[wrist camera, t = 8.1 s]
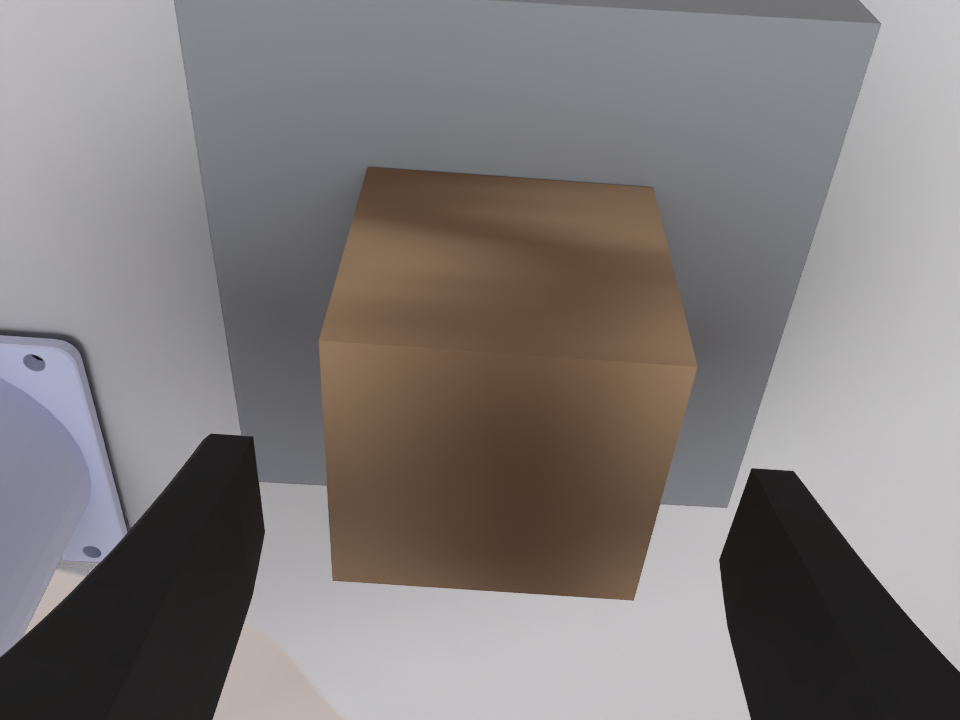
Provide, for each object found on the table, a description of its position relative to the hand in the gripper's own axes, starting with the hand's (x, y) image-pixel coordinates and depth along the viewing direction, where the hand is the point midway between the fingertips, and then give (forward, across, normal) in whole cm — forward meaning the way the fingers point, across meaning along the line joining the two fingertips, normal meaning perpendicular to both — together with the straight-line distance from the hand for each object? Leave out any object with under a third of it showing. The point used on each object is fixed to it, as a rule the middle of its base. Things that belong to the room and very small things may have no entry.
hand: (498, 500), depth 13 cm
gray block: (+9, 0, 0) cm, 9 cm away
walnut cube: (+5, 0, 0) cm, 5 cm away
